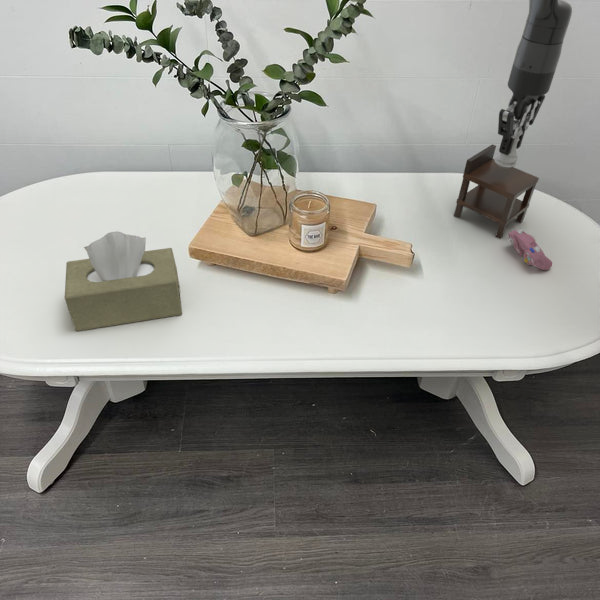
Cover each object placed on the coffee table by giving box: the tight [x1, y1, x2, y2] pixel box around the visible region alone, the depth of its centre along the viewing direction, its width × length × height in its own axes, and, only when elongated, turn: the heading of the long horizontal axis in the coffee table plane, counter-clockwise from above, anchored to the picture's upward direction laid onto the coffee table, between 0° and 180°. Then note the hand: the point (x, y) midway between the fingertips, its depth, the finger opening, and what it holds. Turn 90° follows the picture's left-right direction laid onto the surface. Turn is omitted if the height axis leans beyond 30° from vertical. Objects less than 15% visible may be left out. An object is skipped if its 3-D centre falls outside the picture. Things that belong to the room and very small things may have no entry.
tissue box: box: [64, 230, 183, 332], centre depth 99 cm, size 19×10×16 cm, turn 105°
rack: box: [453, 143, 540, 240], centre depth 123 cm, size 12×10×14 cm
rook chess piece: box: [494, 126, 523, 168], centre depth 115 cm, size 4×4×8 cm
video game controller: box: [507, 228, 553, 271], centre depth 115 cm, size 10×5×7 cm, turn 17°
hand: (509, 149), depth 116 cm, fingers closed on rook chess piece, 3 cm apart
